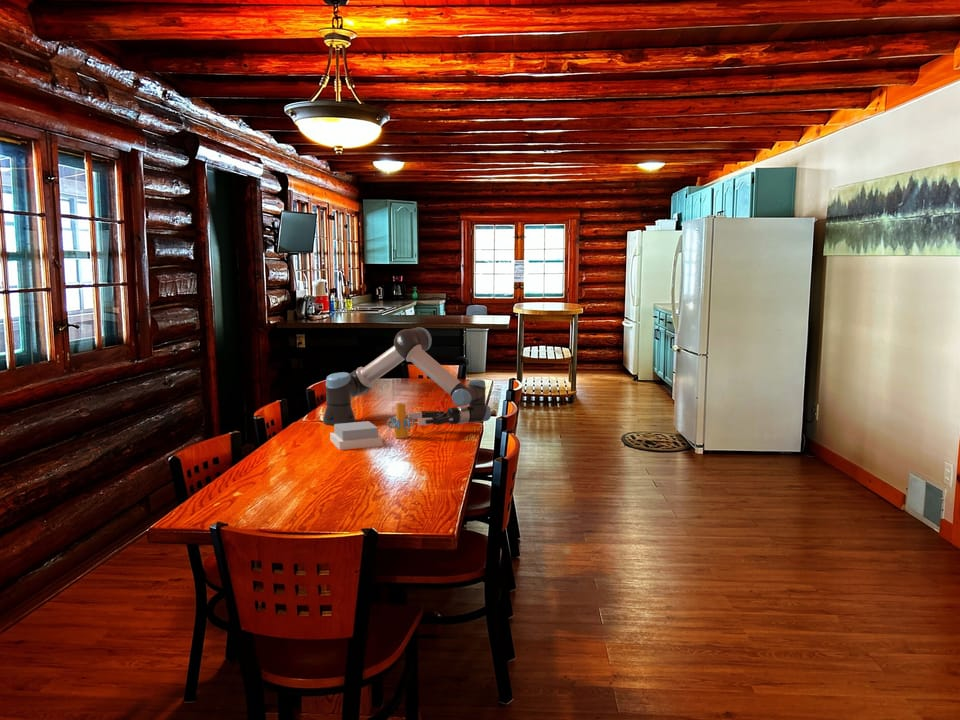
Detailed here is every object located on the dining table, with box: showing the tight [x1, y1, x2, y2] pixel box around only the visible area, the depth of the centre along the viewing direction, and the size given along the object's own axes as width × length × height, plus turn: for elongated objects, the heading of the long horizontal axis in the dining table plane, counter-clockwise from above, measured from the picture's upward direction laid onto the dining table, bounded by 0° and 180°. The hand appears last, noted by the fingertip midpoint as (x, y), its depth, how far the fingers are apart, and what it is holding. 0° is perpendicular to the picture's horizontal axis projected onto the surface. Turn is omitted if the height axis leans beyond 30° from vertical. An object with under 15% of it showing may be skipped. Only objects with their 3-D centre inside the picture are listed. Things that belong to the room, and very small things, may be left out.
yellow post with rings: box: [387, 402, 416, 440], centre depth 316 cm, size 12×10×15 cm
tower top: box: [333, 420, 379, 441], centre depth 305 cm, size 15×15×4 cm
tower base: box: [329, 432, 383, 451], centre depth 305 cm, size 18×18×4 cm
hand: (412, 419), depth 317 cm, fingers open, 13 cm apart
